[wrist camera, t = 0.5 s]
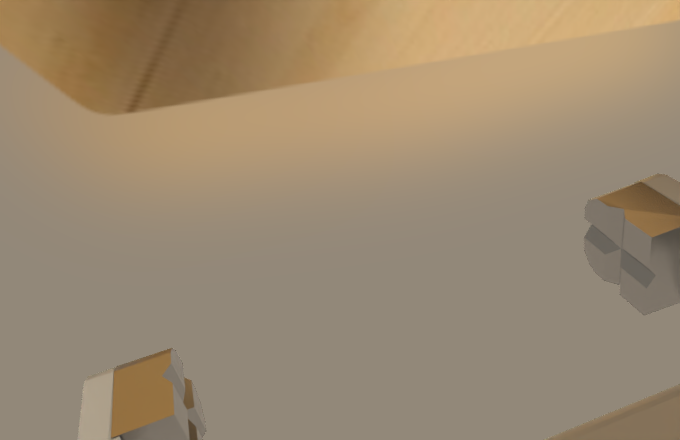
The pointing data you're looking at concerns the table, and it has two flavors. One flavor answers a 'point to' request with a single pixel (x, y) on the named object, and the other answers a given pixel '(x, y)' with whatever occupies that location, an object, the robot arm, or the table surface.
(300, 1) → the table surface
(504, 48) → the table surface
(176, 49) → the table surface
